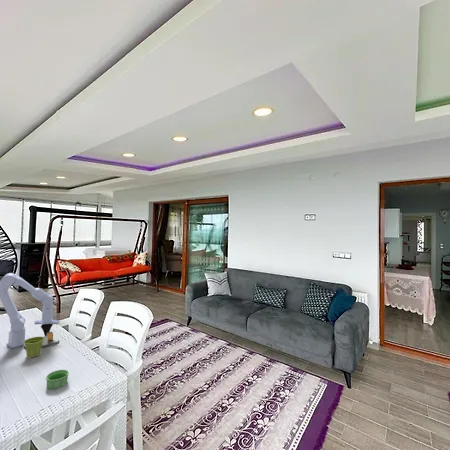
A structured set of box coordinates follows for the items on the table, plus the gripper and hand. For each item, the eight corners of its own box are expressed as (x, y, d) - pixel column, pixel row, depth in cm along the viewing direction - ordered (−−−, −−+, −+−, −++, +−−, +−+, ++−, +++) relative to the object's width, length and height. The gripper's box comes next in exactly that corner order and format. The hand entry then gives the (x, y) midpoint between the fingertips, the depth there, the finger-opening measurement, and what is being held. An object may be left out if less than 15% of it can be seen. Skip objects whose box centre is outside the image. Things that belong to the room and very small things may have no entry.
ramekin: (57, 391, 117) (58, 381, 117) (40, 388, 119) (41, 378, 119) (72, 379, 126) (73, 370, 126) (56, 377, 128) (56, 368, 128)
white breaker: (40, 344, 160) (41, 336, 160) (45, 342, 162) (45, 335, 162) (42, 345, 158) (43, 337, 158) (47, 343, 160) (47, 336, 160)
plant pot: (32, 360, 143) (33, 344, 143) (18, 358, 145) (19, 342, 145) (47, 352, 152) (48, 337, 152) (34, 350, 154) (34, 335, 154)
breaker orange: (46, 339, 167) (46, 332, 167) (51, 337, 169) (51, 330, 169) (48, 340, 165) (48, 333, 165) (53, 338, 167) (53, 331, 168)
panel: (23, 347, 158) (23, 344, 158) (51, 338, 171) (51, 336, 171) (30, 352, 152) (30, 348, 152) (59, 342, 165) (59, 339, 165)
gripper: (31, 316, 166) (30, 337, 165) (55, 316, 166) (54, 337, 166) (38, 312, 173) (38, 333, 172) (61, 312, 173) (60, 333, 173)
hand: (46, 335), depth 170 cm, fingers closed
